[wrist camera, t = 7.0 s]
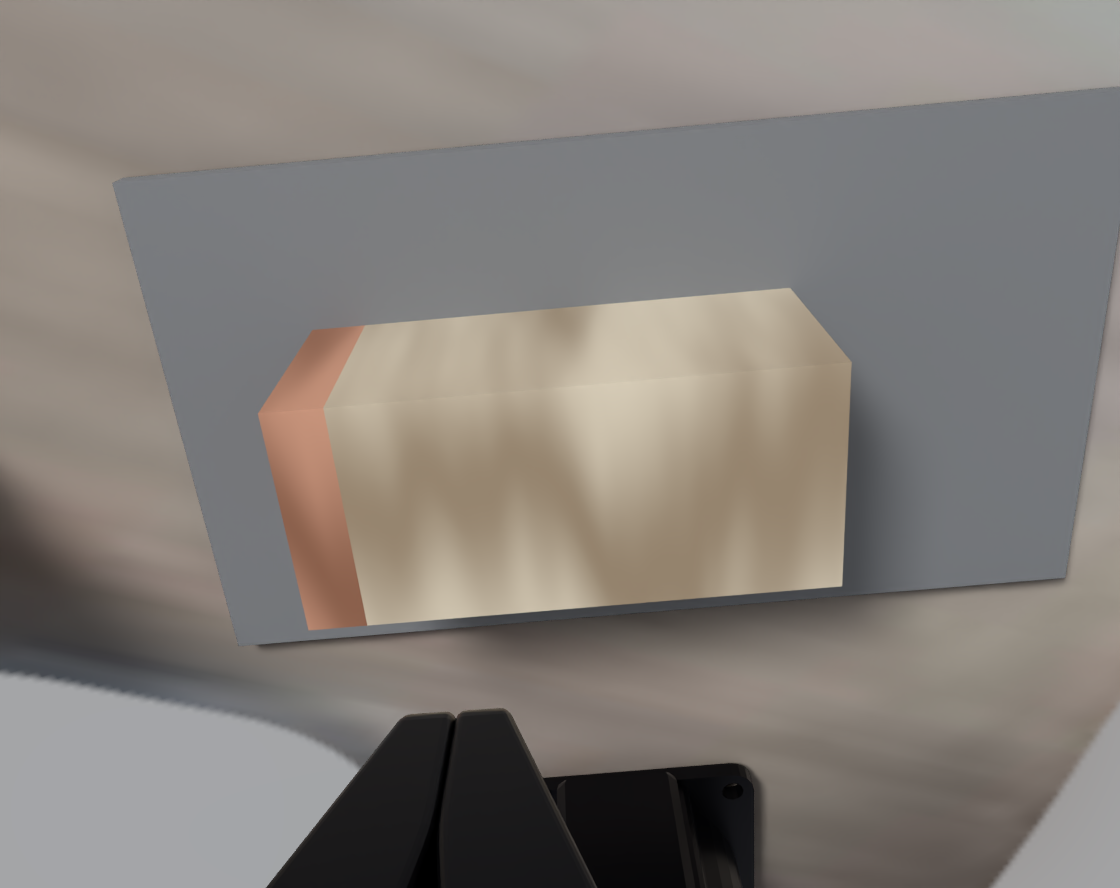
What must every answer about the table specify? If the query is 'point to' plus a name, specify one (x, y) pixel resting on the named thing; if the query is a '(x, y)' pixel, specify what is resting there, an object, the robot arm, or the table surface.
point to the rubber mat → (684, 271)
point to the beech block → (562, 459)
